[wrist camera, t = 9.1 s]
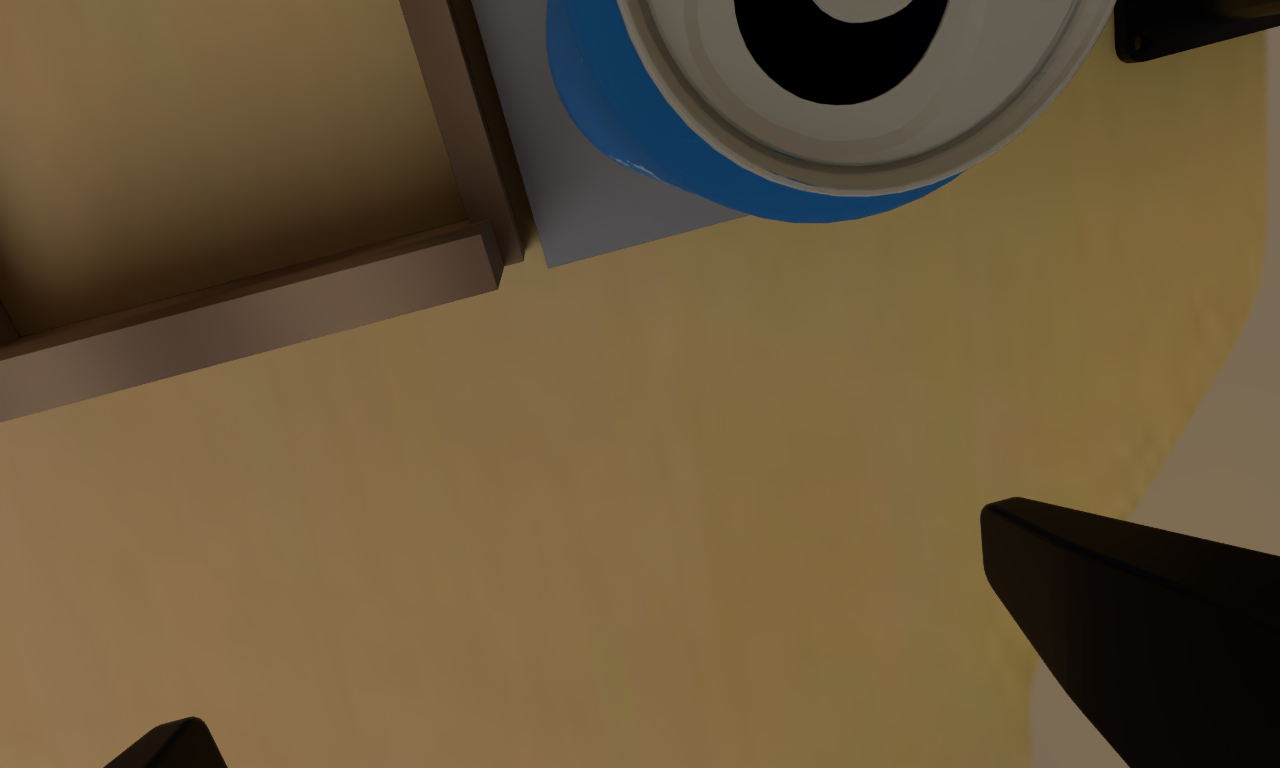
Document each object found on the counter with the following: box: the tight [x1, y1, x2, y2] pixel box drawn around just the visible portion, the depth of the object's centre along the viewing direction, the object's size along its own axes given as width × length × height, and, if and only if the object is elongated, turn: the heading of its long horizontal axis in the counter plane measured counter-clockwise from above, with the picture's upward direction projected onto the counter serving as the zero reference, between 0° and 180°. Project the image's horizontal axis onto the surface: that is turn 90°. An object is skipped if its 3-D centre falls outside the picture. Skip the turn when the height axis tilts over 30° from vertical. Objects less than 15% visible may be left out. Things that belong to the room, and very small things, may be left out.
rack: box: [0, 0, 525, 422], centre depth 16 cm, size 14×14×4 cm
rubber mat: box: [471, 0, 751, 268], centre depth 19 cm, size 9×9×1 cm
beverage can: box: [546, 0, 1116, 223], centre depth 13 cm, size 6×6×12 cm
